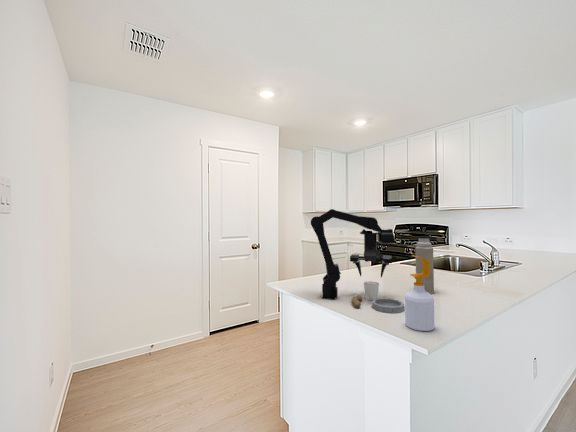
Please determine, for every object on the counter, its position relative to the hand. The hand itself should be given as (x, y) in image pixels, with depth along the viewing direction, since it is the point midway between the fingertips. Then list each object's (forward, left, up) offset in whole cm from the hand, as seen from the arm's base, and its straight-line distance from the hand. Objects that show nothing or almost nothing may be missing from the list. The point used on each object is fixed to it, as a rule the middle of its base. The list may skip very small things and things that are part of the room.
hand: (370, 276), depth 128 cm
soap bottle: (+17, -30, -10) cm, 36 cm away
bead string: (-6, -12, -10) cm, 16 cm away
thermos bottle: (+25, +17, -10) cm, 32 cm away
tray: (+7, -13, -10) cm, 18 cm away
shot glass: (0, 0, -10) cm, 10 cm away
